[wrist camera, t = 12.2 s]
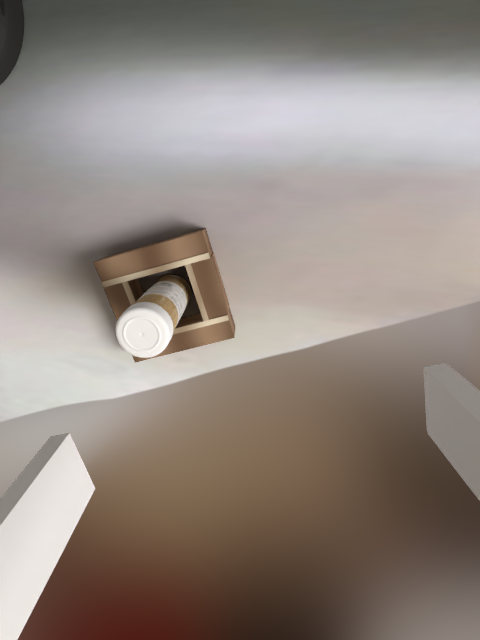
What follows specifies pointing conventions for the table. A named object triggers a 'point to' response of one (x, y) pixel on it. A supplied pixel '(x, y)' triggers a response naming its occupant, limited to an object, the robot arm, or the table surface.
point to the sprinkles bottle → (153, 317)
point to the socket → (204, 277)
